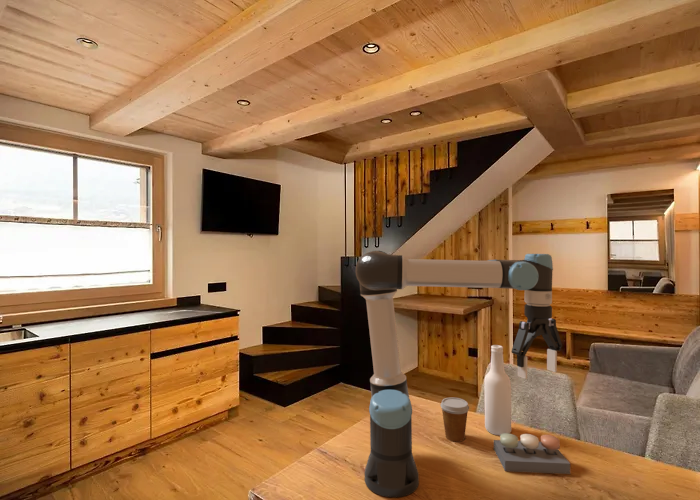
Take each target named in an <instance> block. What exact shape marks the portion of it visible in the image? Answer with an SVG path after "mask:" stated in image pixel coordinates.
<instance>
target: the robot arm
mask: <svg viewBox="0 0 700 500" xmlns="http://www.w3.org/2000/svg"><path fill="white" fill-rule="evenodd" d="M553 264H554V263H553V258H552V255H551V254H549V253H526V254H525V255H524V259H519V260H518V259H488V260H471V259H470V260H469V259H468V260H467V259H466V260H465V259H429V258H428V259H425V258H424V259H419V258H418V259H417V258H416V259H415V258H414V259H413V258H407V257H406V256H405V255H402V254H401V255H400V254H389V253H387V252H385V251H382V250H372V251H368V252H366V253H365V254H363V255H362V256H360V257H359V259H358V260H357V262H356V265H355V277H356V280H357V281H358V283H359V292H360V296H361V297H363V298H364V299H365V303H366V312H367V320H368V321H367V322H368V329H369V338H370V339H369V340H370V348H371V357H372V366H373V367H372V368H373V374H372V376H371V377H370V378H369V383H370V391H371V392H370V393H371V397H370V402H369V406H368V408H369V410H368V411H369V412H368V413H369V415H370V416H369V425H370V426H369V430H370V437H369V438H370V453H369V455H368V458H367V463H366V465H365V468H364V482H365V485H366V487H367V489H368V490H370V491H371V492H373V494H377V495H379V496H381V497H385V498H401V497H405V496H409V495H411V494H412V493H414V492H415V491H416V490H417V489H418V487H419V484H420V478H419V475H420V474H419V471H418V467H417V465H416V461H415V459H414V456H413V435H412V434H413V433H412V430H413V429H412V428H413V426H412V425H413V423H412V420H413V419H412V418H413V417H412V415H413V408H412V401H411V399H410V394H409V389H408V380H407V375H406V374H405V373H403V372H402V369H401V368H402V367H401V360H400V359H401V358H400V352H399V343H398V342H399V341H398V332H397V324H396V323H397V321H396V315H395V314H396V313H395V304H394V296H395V295H396V293H398V290H404V289H405V288H406V287H436V288H437V287H441V288H444V287H445V288H477V289H478V288H481V289H482V288H484V289H486V288H487V289H489V288H490V289H508V290H509V289H511V290H512V289H514V290H517V291H524V298H523V299H524V302H525V304H524V306H523V307H524V308H523V309H524V316H525V317H526V318H527V319H526V321H522V320H520V321H519V324H518V331H517V333H516V337H515V340H514V342H513V345H512V348H511V354H513V355H516V366H517V377H518V378H521V379H524V380H528V356H527V353H528V351H529V349H530V348H531V346H532V343H533V341H534V340H535V339H536V338H537V337H539V336H542V338H543V340H544V341H545V343H546V345H547V347H548V348H547V349H546V371H550V372H553V373H557V372H558V371H557V368H558V366H557V363H558V362H557V361H558V352H560V351H562V348H563V343H562V340H561V337H560V334H559V330H558V327H557V320H556V319H555V318H552V317H553V306H552V304H553V271H554V267H553V266H554V265H553Z"/></svg>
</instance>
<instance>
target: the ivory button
mask: <svg viewBox="0 0 700 500" xmlns="http://www.w3.org/2000/svg"><path fill="white" fill-rule="evenodd" d="M519 437H520V441H521V445H522V446H524V447H526V454H534V449H536V448H538V447H539V442H540V441H539V440H540V439H539V437H537V435H534V434H530V433H522V434H520V436H519Z"/></svg>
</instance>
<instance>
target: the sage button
mask: <svg viewBox="0 0 700 500" xmlns="http://www.w3.org/2000/svg"><path fill="white" fill-rule="evenodd" d="M499 440H500V443H501V444H502V445H503V446H505V452H506V453H513V448H516V447H518V441H519V438H518V436H517V435H515V434H512V433H503V434H501V435H500V436H499Z"/></svg>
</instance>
